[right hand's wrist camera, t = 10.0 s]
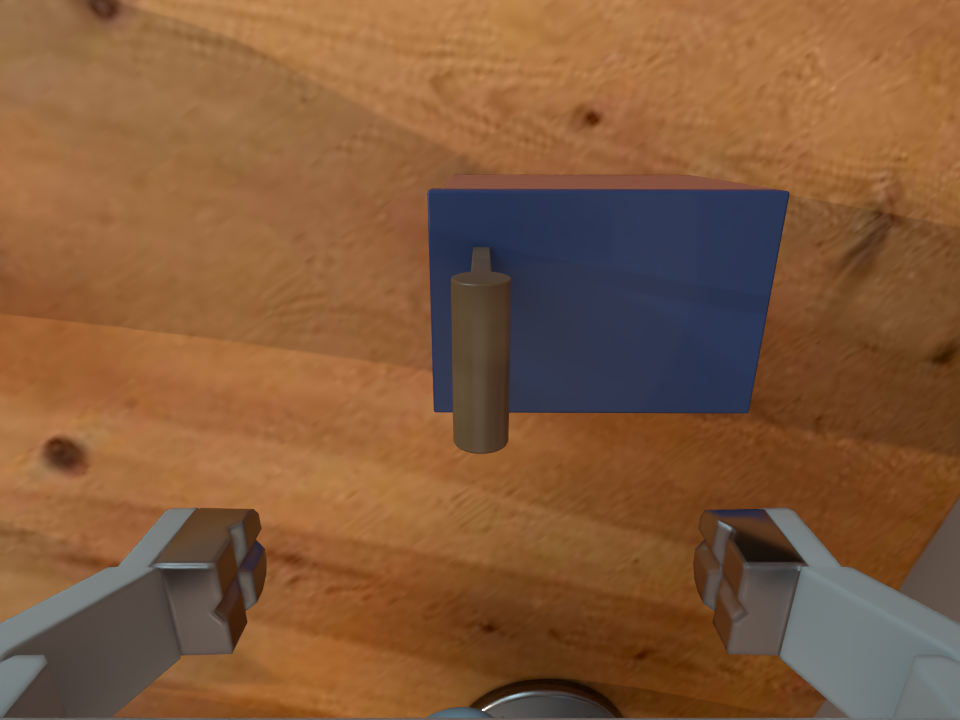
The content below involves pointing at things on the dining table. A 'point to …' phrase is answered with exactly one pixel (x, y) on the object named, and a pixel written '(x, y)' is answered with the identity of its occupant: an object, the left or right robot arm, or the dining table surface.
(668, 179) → the chest
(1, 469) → the dining table surface
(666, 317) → the lid
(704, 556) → the right robot arm
